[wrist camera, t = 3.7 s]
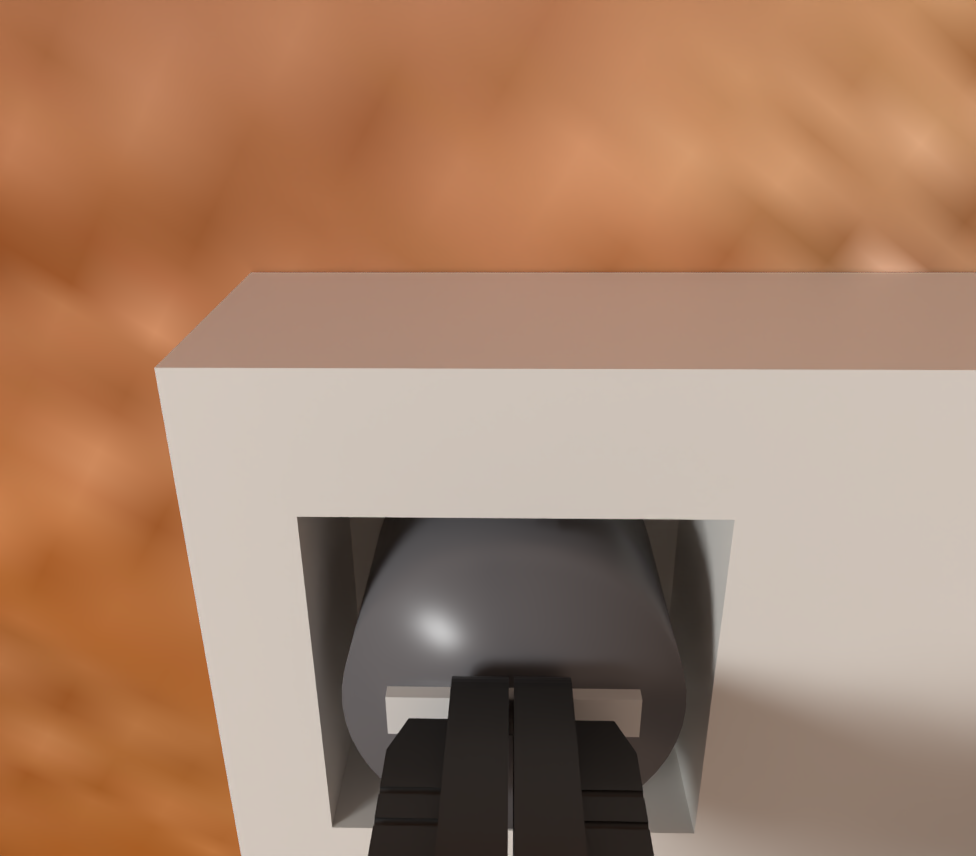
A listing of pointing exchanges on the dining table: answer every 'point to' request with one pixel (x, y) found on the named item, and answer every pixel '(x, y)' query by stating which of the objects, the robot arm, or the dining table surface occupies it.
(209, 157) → the dining table surface
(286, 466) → the knob mount
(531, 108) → the dining table surface
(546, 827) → the robot arm
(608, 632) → the knob
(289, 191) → the dining table surface
